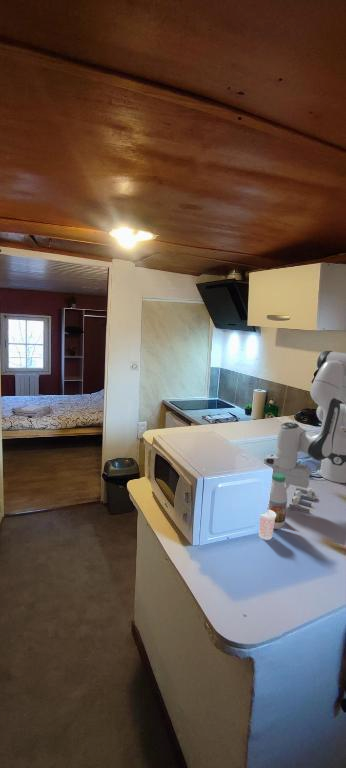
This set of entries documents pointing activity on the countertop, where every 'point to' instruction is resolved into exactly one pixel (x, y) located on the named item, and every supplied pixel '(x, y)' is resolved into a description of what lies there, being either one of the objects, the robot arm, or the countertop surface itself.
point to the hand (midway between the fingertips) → (282, 491)
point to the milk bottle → (278, 500)
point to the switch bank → (303, 501)
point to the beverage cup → (267, 524)
